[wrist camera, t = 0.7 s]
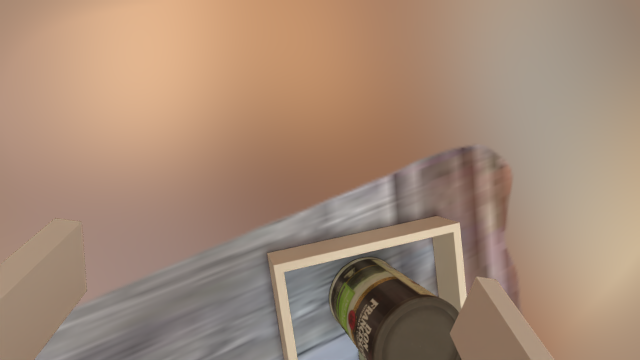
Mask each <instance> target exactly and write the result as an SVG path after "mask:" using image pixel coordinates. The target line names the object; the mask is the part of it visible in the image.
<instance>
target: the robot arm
mask: <svg viewBox="0 0 640 360" xmlns="http://www.w3.org/2000/svg"><path fill="white" fill-rule="evenodd" d="M86 291H87V286H86V271H85V258H84V244H83V230H82V222H81V221H73V220H66V219H59V218H55V219H54V220H52V221H51V222H50V223H49V224H48V225H46V226H45V227H44V228H43V229H42V230H40V231H39V232H38V233H37V234H36V235H34V236H33V237H32V238H31V239H30V240H29V241H27V242H26V243H25V244H24V245H23V246H21V247H20V248H19V249H18V250H17V251H15V252H14V253H13V254H12V255H11V256H10V257H8V258H7V259H6V260H5V261H3V262H2V263H1V264H0V360H34V359H35V358H36V356H37V355H38V354H39V352H40V351H41V350H42V349H43V347H44V346H45V345H46V343H47V342H48V341H49V339H50V338H51V337H52V336H53V334H54V333H55V332H56V330H57V329H58V328H59V326H60V325H61V324H62V323H63V321H64V320H65V319H66V317H67V316H68V315H69V313H70V312H71V311H72V310H73V308H74V307H75V306H76V304H77V303H78V302H79V300H80V299H81V298H82V297H83V295H84V294H85V293H86ZM450 335H451V338H452V340H453V342H454V344H455V346H456V348H457V351H458V353H459V355H460V357H461V359H462V360H554V358H553V357H552V356H551V354H550V353H549V351H548V350H547V349H546V347H545V346H544V345H543V343H542V342H541V341H540V339H539V338H538V336H537V335H536V334H535V332H534V331H533V330H532V328H531V327H530V325H529V324H528V323H527V321H526V320H525V318H524V317H523V316H522V314H521V313H520V312H519V310H518V309H517V307H516V306H515V305H514V303H513V302H512V300H511V299H510V298H509V296H508V295H507V294H506V292H505V291H504V289H503V288H502V287H501V285H500V284H499V283H498V281H497V280H496V279H489V278H482V277H476V278H475V280H474V283H473V285H472V287H471V289H470V291H469V293H468V295H467V298H466V300H465V302H464V304H463V306H462V308H461V310H460V313H459V315H458V317H457V319H456V321H455V323H454V325H453V328H452V330H451V332H450Z"/></svg>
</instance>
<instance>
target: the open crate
mask: <svg viewBox="0 0 640 360" xmlns="http://www.w3.org/2000/svg"><path fill="white" fill-rule="evenodd" d="M430 237H432V238H433V248H434V258H435V267H436V277H437V287H438V296H439V298H441V299H443V300H445V301H447V302H449V303H450V304H451V305H453V306H454V307H455V308H456V309H457V311H458V312H459V313H460V310H461V308H462V306H463V304H464V302H465V300H466V298H467V296H466V286H465V275H464V264H463V254H462V243H461V232H460V223H459V222H456V221H452V220H449V219H445V218H442V217H439V216H434V217H429V218H425V219H420V220H416V221H411V222H407V223H402V224H398V225H393V226H388V227H384V228H379V229H375V230H370V231H366V232H361V233H357V234H352V235H348V236H343V237H338V238H334V239H329V240H325V241H320V242H316V243H311V244H307V245H302V246H298V247H293V248H288V249H284V250H279V251H275V252H270V253H267V256H268V262H269V268H270V274H271V281H272V287H273V293H274V299H275V306H276V312H277V318H278V324H279V331H280V337H281V343H282V349H283V355H284V360H297V353H296V347H295V340H294V334H293V327H292V321H291V315H290V308H289V302H288V295H287V289H286V283H285V276H284V272H286V271H290V270H295V269H299V268H303V267H307V266H312V265H316V264H320V263H324V262H328V261H333V260H337V259H341V258H345V257H350V256H354V255H358V254H362V253H366V252H371V251H375V250H379V249H383V248H388V247H392V246H396V245H400V244H405V243H409V242H413V241H417V240H421V239H426V238H430Z"/></svg>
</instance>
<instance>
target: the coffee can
mask: <svg viewBox="0 0 640 360" xmlns="http://www.w3.org/2000/svg"><path fill="white" fill-rule="evenodd" d="M329 304H330V309H331V312H332V314H333V316H334V318H335V319H336V321H337V322H338V323H339V324H340V325H341V326H342V328H343V329H344V330H345V332H346V333H347V334H348V336H349V337H350V339H351V340H352V341H353V343H354V344H355V345H356V347H357V348H358V350H359V351H360V352H361V354H362V355H363V356H364V358H365V359H366V360H462V359H461V357H460V355H459V353H458V351H457V348H456V346H455V344H454V342H453V340H452V338H451V335H450V332H451V330H452V328H453V325H454V323H455V321H456V319H457V317H458V315H459V312H458V311H457V309H456V308H455V307H454V306H453V305H451V304H450V303H449V302H447V301H445V300H443V299H441V298H439V297H437V296H435V295H434V294H432V293H431V292H429V291H428V290H426V289H425V288H423V287H421V286H420V285H419V284H417V283H415V282H414V281H412V280H411V279H409V278H408V277H406V276H405V275H403V274H402V273H400V272H399V271H397V270H396V269H394V268H393V267H391V266H390V265H389V264H387V263H386V262H385V261H383V260H380V259H378V258H373V257H365V258H360V259H356V260H354V261H352V262H350V263H348V264H347V265H346V266H344V267H343V268H342V269H341V270H340V272H339V273H338V274H337V276H336V277H335V279H334V281H333V283H332V285H331V289H330V293H329Z"/></svg>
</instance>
